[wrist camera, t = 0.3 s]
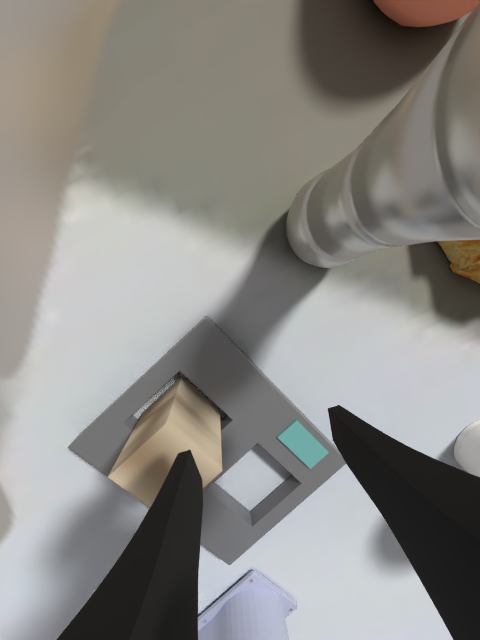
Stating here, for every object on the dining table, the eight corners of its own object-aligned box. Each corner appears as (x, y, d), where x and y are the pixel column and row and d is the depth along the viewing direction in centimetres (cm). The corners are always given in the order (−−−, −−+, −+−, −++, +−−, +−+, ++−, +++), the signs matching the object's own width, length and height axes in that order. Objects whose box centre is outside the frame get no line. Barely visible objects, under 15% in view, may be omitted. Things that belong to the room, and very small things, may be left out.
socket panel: (228, 548, 24) (229, 567, 23) (78, 435, 20) (66, 449, 19) (339, 451, 24) (348, 463, 22) (206, 315, 20) (206, 318, 18)
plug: (182, 444, 22) (167, 520, 15) (142, 412, 21) (107, 477, 14) (219, 410, 22) (222, 470, 15) (182, 375, 21) (166, 423, 14)
